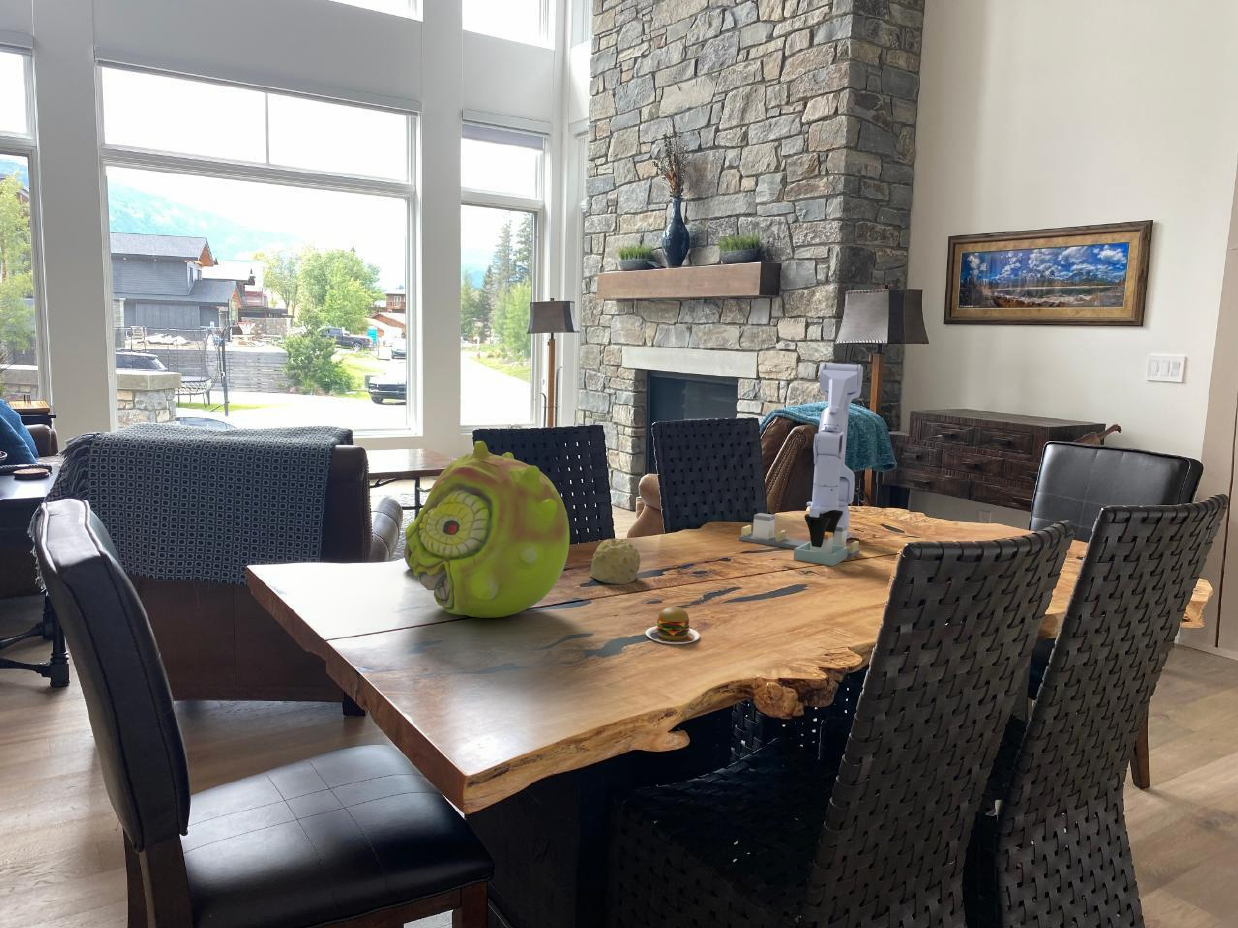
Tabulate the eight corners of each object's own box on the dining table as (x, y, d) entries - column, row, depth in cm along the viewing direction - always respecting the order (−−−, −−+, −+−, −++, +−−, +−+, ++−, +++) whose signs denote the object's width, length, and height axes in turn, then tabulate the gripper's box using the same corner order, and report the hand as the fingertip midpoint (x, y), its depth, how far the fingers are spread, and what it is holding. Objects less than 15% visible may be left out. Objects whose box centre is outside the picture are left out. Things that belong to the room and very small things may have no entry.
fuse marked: (814, 553, 219) (816, 530, 218) (831, 556, 217) (833, 532, 216) (809, 556, 216) (811, 532, 215) (826, 559, 214) (828, 535, 213)
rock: (630, 589, 196) (617, 544, 199) (654, 574, 187) (640, 527, 190) (589, 598, 192) (576, 551, 194) (611, 583, 182) (597, 534, 185)
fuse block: (749, 536, 237) (749, 524, 237) (859, 553, 223) (860, 540, 223) (738, 540, 232) (739, 528, 232) (851, 558, 218) (852, 545, 218)
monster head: (392, 594, 173) (394, 430, 169) (538, 586, 183) (544, 430, 178) (418, 648, 144) (421, 452, 140) (590, 635, 154) (598, 452, 150)
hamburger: (653, 655, 148) (655, 621, 147) (624, 632, 159) (626, 600, 158) (721, 648, 152) (723, 615, 152) (689, 626, 163) (690, 595, 163)
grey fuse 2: (829, 545, 226) (830, 523, 225) (845, 548, 224) (847, 525, 223) (824, 548, 223) (825, 525, 222) (840, 550, 221) (842, 527, 220)
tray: (808, 551, 223) (809, 541, 222) (847, 557, 218) (848, 547, 218) (793, 559, 214) (794, 548, 214) (833, 566, 210) (834, 555, 209)
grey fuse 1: (758, 534, 235) (759, 512, 234) (773, 537, 233) (775, 515, 232) (752, 537, 232) (754, 515, 231) (768, 539, 230) (769, 517, 229)
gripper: (819, 479, 222) (815, 536, 224) (798, 486, 210) (793, 546, 211) (849, 482, 219) (844, 540, 220) (829, 490, 206) (824, 551, 208)
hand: (821, 544), depth 216 cm, fingers open, 7 cm apart
